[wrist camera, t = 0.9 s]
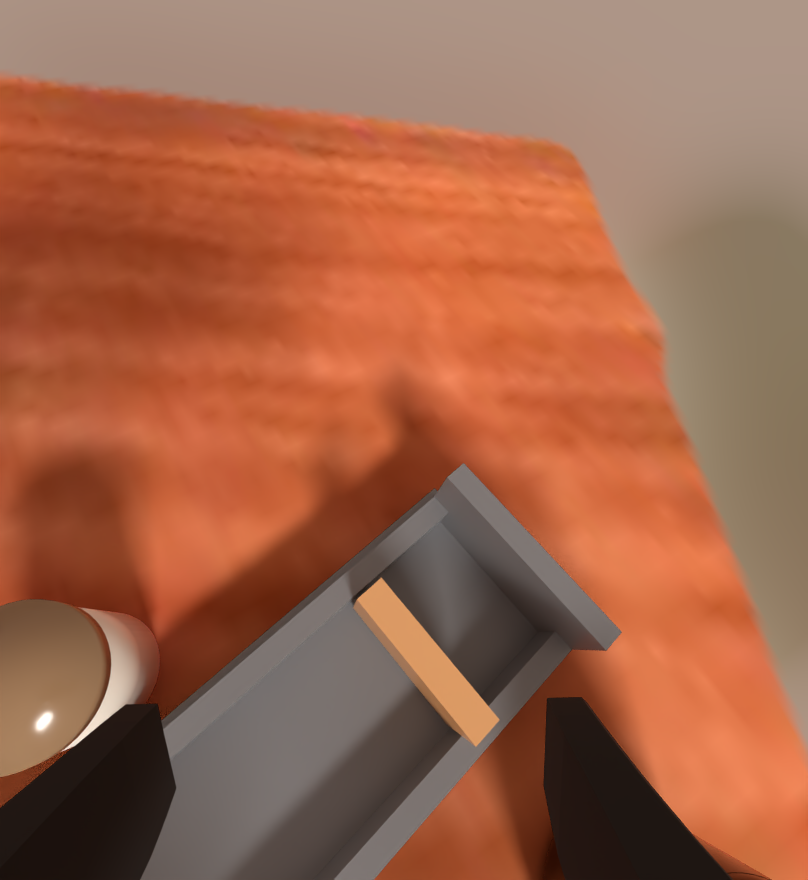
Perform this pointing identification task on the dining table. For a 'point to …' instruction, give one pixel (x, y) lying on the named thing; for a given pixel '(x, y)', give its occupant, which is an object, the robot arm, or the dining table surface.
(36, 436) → the dining table surface
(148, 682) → the jar
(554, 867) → the supplement bottle
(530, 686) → the lane tray
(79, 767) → the robot arm
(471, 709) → the pusher plate
